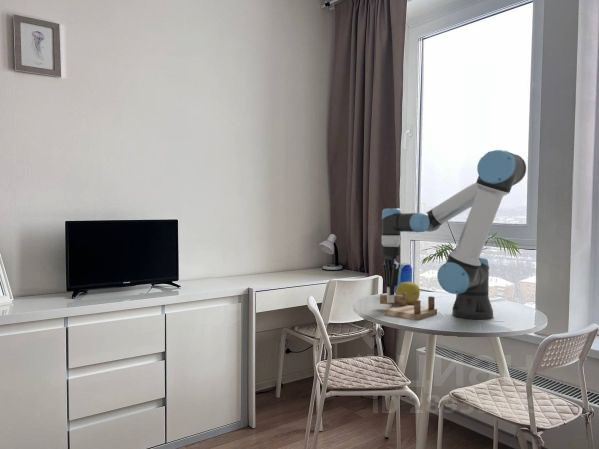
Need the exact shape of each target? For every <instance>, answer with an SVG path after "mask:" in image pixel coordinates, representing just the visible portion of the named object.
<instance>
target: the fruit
mask: <svg viewBox="0 0 599 449" xmlns="http://www.w3.org/2000/svg"><path fill="white" fill-rule="evenodd" d="M420 291H421V290H420V287H419V285H418V284H417V283H415V282H413V281H412V282H402V283H400V284H399V285H398V287H397V289H396V294H395V295H403V293H406V305H414V300H419V298H420Z"/></svg>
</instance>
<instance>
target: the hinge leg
mask: <svg viewBox="0 0 599 449" xmlns="http://www.w3.org/2000/svg"><path fill="white" fill-rule="evenodd" d="M379 304H380V305H392V304H393V305H407V304H406V293H403V295H396V294H394V303H387V294H380V295H379Z"/></svg>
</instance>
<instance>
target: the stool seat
mask: <svg viewBox="0 0 599 449" xmlns="http://www.w3.org/2000/svg"><path fill="white" fill-rule="evenodd" d="M427 298H428V300H427V303H428V304H427V307H425V306H424V307H423V306H422V305H421V300H419V299H418V300H414V303H413V305H412V304H406V305H400V306H396V307H392V306H391V307H389V308H385V309H384V315H385V316H393V317H397V318H404V319H410V320H411V319H412V320H416V321H421V320H424V319H426V318H429V317H433V316H436V315H437V314H438V308H435V298H436V297H435V296H434V295H433V296H432V295H431V296H429V295H428V297H427Z"/></svg>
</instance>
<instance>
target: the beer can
mask: <svg viewBox="0 0 599 449" xmlns="http://www.w3.org/2000/svg"><path fill="white" fill-rule="evenodd" d="M397 263H398V264H400V268H399V275H398V284H397V286H395V287H394V295H396V289H397V287H398V285H399V284H400V283H402V282H412V283H413V267H412V266H411V264H410V263H407V262H406V263H405V262H403V263H402V262H401V263H399V262H397Z"/></svg>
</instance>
